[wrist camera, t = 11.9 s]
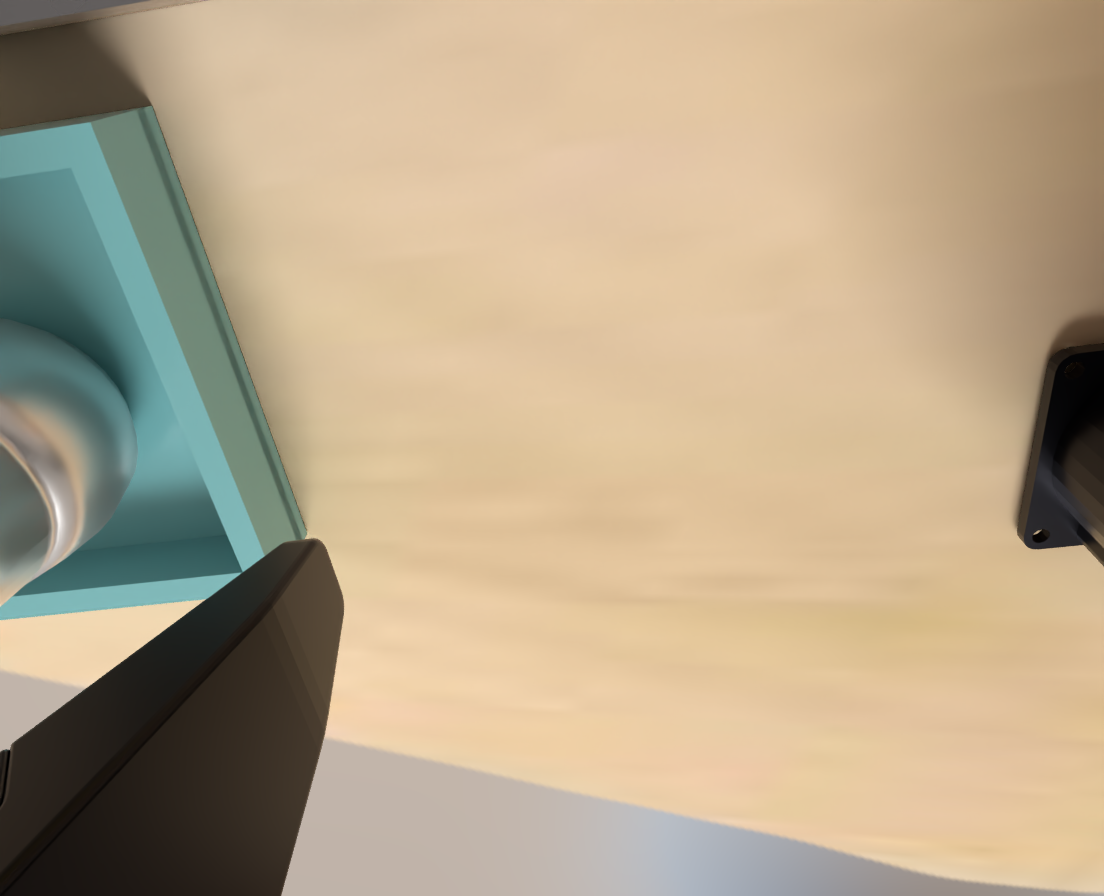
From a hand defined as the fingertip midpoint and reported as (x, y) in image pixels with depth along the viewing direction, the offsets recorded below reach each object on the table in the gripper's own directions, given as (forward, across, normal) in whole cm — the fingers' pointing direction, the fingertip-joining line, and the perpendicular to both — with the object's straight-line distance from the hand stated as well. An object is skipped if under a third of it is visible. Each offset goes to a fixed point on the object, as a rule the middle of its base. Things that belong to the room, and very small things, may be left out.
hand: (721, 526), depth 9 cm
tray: (+13, +17, +2) cm, 22 cm away
